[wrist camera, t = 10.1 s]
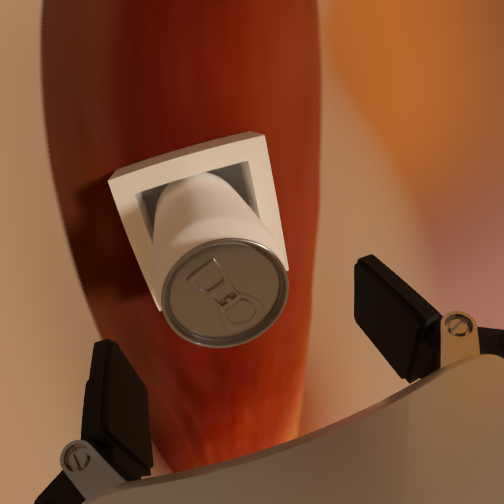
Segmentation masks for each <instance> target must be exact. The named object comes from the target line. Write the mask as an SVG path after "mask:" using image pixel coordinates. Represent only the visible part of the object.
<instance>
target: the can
mask: <svg viewBox="0 0 504 504" xmlns="http://www.w3.org/2000/svg"><path fill="white" fill-rule="evenodd" d="M152 285H153V291H154V295H155V298H156V300H157V303H158V305H159V306H160V308H161V309H162V311H163V314H164V316H165V318H166V320H167V322H168V324H169V325H170V327H171V328H172V329H173V330H174V331H175V332H176V333H177V334H178V335H179V336H181V337H182V338H184V339H185V340H187V341H189V342H191V343H193V344H196V345H199V346H203V347H209V348H226V347H233V346H237V345H241V344H244V343H246V342H249V341H251V340H253V339H255V338H256V337H258V336H260V335H261V334H263V333H264V332H265V331H266V330H268V329H269V328H270V327H271V326H272V325H273V324H274V323H275V321H276V320H277V319H278V318H279V316H280V315H281V313H282V311H283V309H284V307H285V304H286V301H287V298H288V292H289V282H288V276H287V272H286V270H285V261H284V257H283V253H282V251H281V249H280V247H279V245H278V243H277V241H276V240H275V238H274V237H273V235H272V234H271V233H270V231H269V230H268V229H267V228H266V226H265V225H264V224H263V223H262V221H261V220H260V219H259V218H258V217H257V215H256V214H255V213H254V212H253V211H252V209H251V208H250V207H249V206H248V205H247V204H246V202H245V201H244V200H243V199H242V198H241V197H240V195H239V194H238V193H237V192H236V191H235V190H234V189H233V187H232V186H231V185H230V184H229V183H228V182H226V181H225V180H224V179H222V178H221V177H219V176H217V175H214V174H211V173H207V172H204V173H200V174H197V175H193V176H190V177H186V178H183V179H180V180H176V181H173V182H171V183H169V184H168V185H167V186H166V188H165V189H164V190H163V192H162V193H161V195H160V197H159V199H158V202H157V206H156V211H155V221H154V234H153V252H152Z"/></svg>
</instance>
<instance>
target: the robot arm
mask: <svg viewBox="0 0 504 504" xmlns="http://www.w3.org/2000/svg"><path fill="white" fill-rule="evenodd" d="M354 281H355V282H354V288H355V289H354V317H355V320H356V323H357V324H358V325H359V326H360V328H361V329H362V330H363V331H364V333H365V334H366V335H367V336H368V338H369V339H370V340H371V341H372V342H373V344H374V345H375V346H376V348H377V349H378V350H379V351H380V353H381V354H382V355H383V356H384V357H385V359H386V360H387V361H388V363H389V364H390V365H391V366H392V368H393V369H394V370H395V371H396V372H397V374H398V375H399V376H400V378H402V379H404V378H405V379H406V380H407V381H408V382H409V383H412V382H414V381H415V380H417V379H419V378H420V379H421V380H419V381H417V382H415V383H414V384H412V385H410V386H408V387H406V388H405V389H403V390H401V391H399V392H397V393H395V394H393V395H392V396H390V397H388V398H386V399H384V400H382V401H380V402H379V403H376V404H374V405H372V406H370V407H368V408H366V409H364V410H362V411H360V412H358V413H356V414H353V415H351V416H349V417H347V418H345V419H343V420H340V421H338V422H336V423H333V424H331V425H329V426H326V427H324V428H322V429H319V430H317V431H314V432H312V433H309V434H307V435H304V436H301V437H299V438H296V439H293V440H291V441H288V442H285V443H282V444H279V445H277V446H274V447H271V448H268V449H265V450H261V451H258V452H255V453H252V454H249V455H245V456H242V457H238V458H235V459H231V460H228V461H224V462H220V463H216V464H212V465H208V466H204V467H200V468H195V469H191V470H186V471H181V472H177V473H172V474H167V475H162V476H156V477H150V478H145V479H141V477H142V476H149V475H151V471H150V468H152V467H153V455H152V445H151V435H150V423H149V410H148V394H147V389H146V387H145V385H144V383H143V382H142V380H141V379H140V378H139V376H138V375H137V373H136V372H135V370H134V369H133V367H132V366H131V364H130V363H129V361H128V360H127V358H126V357H125V355H124V354H123V352H122V351H121V349H120V347H119V346H118V344H117V343H116V342H115V341H114V342H112V341H111V340H110V339H106V340H102V341H99V342H96V343H95V344H94V348H93V355H92V362H91V369H90V376H89V380H88V381H87V383H86V389H85V396H84V406H83V416H82V428H81V440H75V441H72V442H70V443H69V444H67V445H66V446H65V448H64V449H63V451H62V453H61V457H60V463H61V467H62V469H63V470H62V471H61V473H60V474H59V475H58V476H57V477H56V478H55V479H54V480H53V481H52V482H51V483H50V484H49V486H48V487H47V488H46V489H45V490H44V491H43V492H42V493H41V494H40V495H39V496H38V497H37V499H36V500H35V502H34V504H504V330H501V329H491V328H483V327H477V325H476V322H475V320H474V319H473V317H471V316H470V315H469V314H467V313H464V312H460V311H452V312H449V313H447V314H445V315H444V316H442V315H441V314H440V313H439V312H438V311H437V310H436V309H435V308H434V307H433V306H432V305H430V304H429V303H428V302H427V301H426V300H425V299H424V298H423V297H421V296H420V295H419V294H418V293H417V292H416V291H415V290H414V289H413V288H411V287H410V286H409V285H408V284H407V283H406V282H405V281H403V280H402V279H401V278H400V277H399V276H398V275H396V274H395V273H394V272H393V271H392V270H391V269H389V268H388V267H387V266H385V264H383V263H382V262H381V261H380V260H379V259H377V258H376V257H375V256H374V255H371V254H370V255H368V256H365V257H362V258H360V259H358V261H357V264H355V266H354Z"/></svg>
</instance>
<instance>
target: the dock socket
mask: <svg viewBox="0 0 504 504" xmlns="http://www.w3.org/2000/svg"><path fill="white" fill-rule="evenodd" d="M204 172H207V173H211V174H214V175H217V176H219V177H221V178H222V179H224V180H225V181H226V182H228V183H229V184H230V185H231V186H232V187H233V189H234V190H235V191H236V192H237V193H238V194H239V195H240V197H241V198H242V199H243V200H244V201H245V202H246V204H247V205H248V206H249V207H250V208H251V209H252V211H253V212H254V213H255V214H256V215H257V217H258V218H259V219H260V220H261V221H262V223H263V224H264V225H265V226H266V228H267V229H268V230H269V231H270V233H271V234H272V235H273V237H274V238H275V240H276V241H277V243H278V245H279V247H280V249H281V251H282V253H283V257H284V261H285V270H286V271H288V270H289V269H288V262H287V256H286V250H285V244H284V239H283V233H282V227H281V221H280V215H279V210H278V204H277V199H276V193H275V188H274V182H273V177H272V171H271V166H270V161H269V156H268V150H267V145H266V140H265V135H262V134H258V133H255V132H251V131H248V132H244V133H239V134H235V135H231V136H227V137H223V138H219V139H215V140H211V141H207V142H204V143H200V144H196V145H193V146H189V147H186V148H182V149H179V150H175V151H172V152H169V153H165V154H162V155H159V156H156V157H153V158H149V159H146V160H143V161H140V162H137V163H134V164H131V165H128V166H126V167H123V168H120V169H117V170H116V171H115V172H114V173H113V175H112V176H111V177H110V178H109V180H108V183H109V186H110V189H111V192H112V195H113V198H114V201H115V204H116V206H117V209H118V212H119V215H120V217H121V220H122V223H123V226H124V228H125V231H126V233H127V236H128V239H129V241H130V244H131V246H132V249H133V251H134V254H135V256H136V259H137V261H138V264H139V266H140V268H141V271H142V273H143V276H144V278H145V280H146V283H147V285H148V287H149V289H150V292H151V294H152V296H153V298H154V301H155V303H156V305H157V307H158V309H159V311H161V310H162V309H161V308H160V306H159V305H158V303H157V300H156V298H155V295H154V291H153V285H152V252H153V234H154V221H155V211H156V206H157V202H158V199H159V197H160V195H161V193H162V192H163V190H164V189H165V188H166V186H167V185H168V184H169V183H171V182H173V181H176V180H180V179H183V178H186V177H190V176H193V175H197V174H200V173H204Z"/></svg>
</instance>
